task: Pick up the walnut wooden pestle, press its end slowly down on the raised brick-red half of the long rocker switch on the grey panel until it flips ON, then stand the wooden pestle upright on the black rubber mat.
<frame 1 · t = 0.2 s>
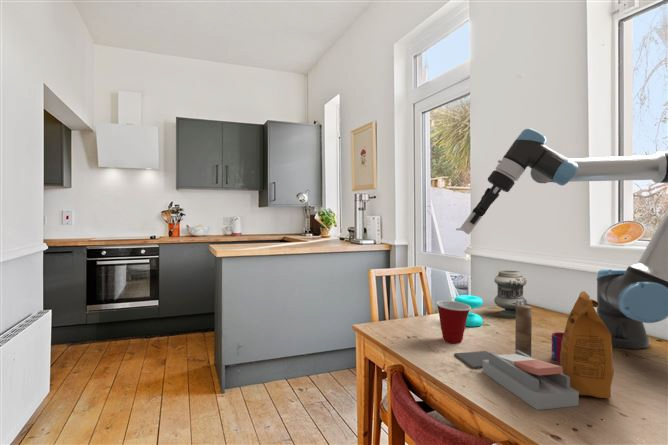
hand: (464, 231, 124), 35 cm above the table, tool tilted 35°, fingers open, 13 cm apart
donuts: (468, 324, 143), on the table
cup: (572, 361, 106), on the table
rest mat: (479, 360, 107), on the table
rocker: (525, 363, 90), point 5 cm above the table, hinge at -10.0°
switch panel: (525, 386, 90), on the table
coffee package: (584, 389, 89), on the table
plastic cup: (453, 341, 124), on the table
wooden pestle: (523, 360, 107), on the table
apothecary jar: (510, 315, 155), on the table
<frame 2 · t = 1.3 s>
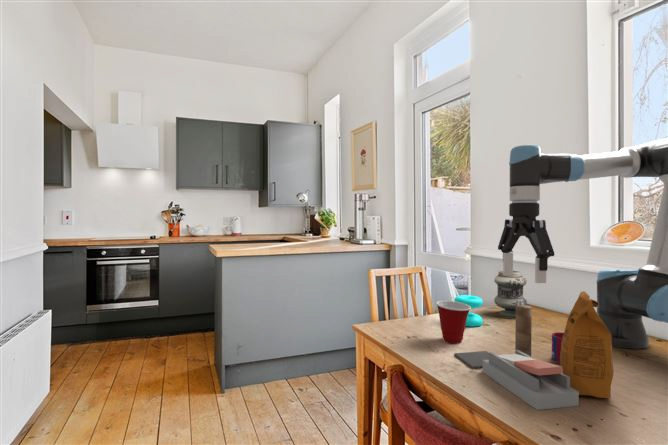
hand: (523, 278, 107), 23 cm above the table, tool pointing down, fingers open, 13 cm apart
nothing on the table moved.
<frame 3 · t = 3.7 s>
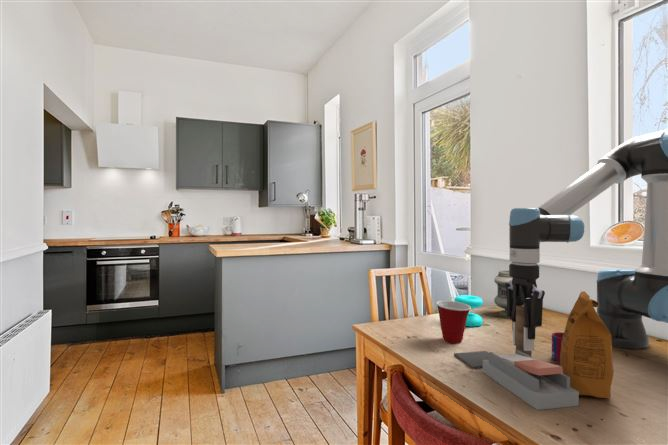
hand: (523, 347, 107), 4 cm above the table, tool pointing down, fingers closed on wooden pestle, 4 cm apart
wooden pestle: (523, 360, 107), on the table, touching gripper
everything else where it was.
when the fingers open (5 cm above the table, at t = 16.0 s): wooden pestle drops 1 cm, resting on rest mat.
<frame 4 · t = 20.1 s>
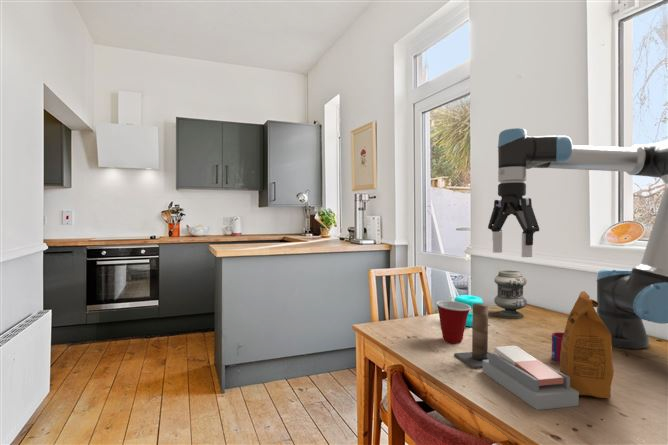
hand: (511, 254, 114), 29 cm above the table, tool pointing down, fingers open, 13 cm apart
rocker: (526, 363, 90), point 5 cm above the table, hinge at 5.8°
wooden pestle: (479, 358, 107), point 1 cm above the table, touching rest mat
everything else where it was.
at the end: rocker at +6° (first picture: -10°); wooden pestle inside the target area on the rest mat (0.1 cm from its centre), point 0.6 cm above the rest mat's base; wooden pestle tilted 1° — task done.
